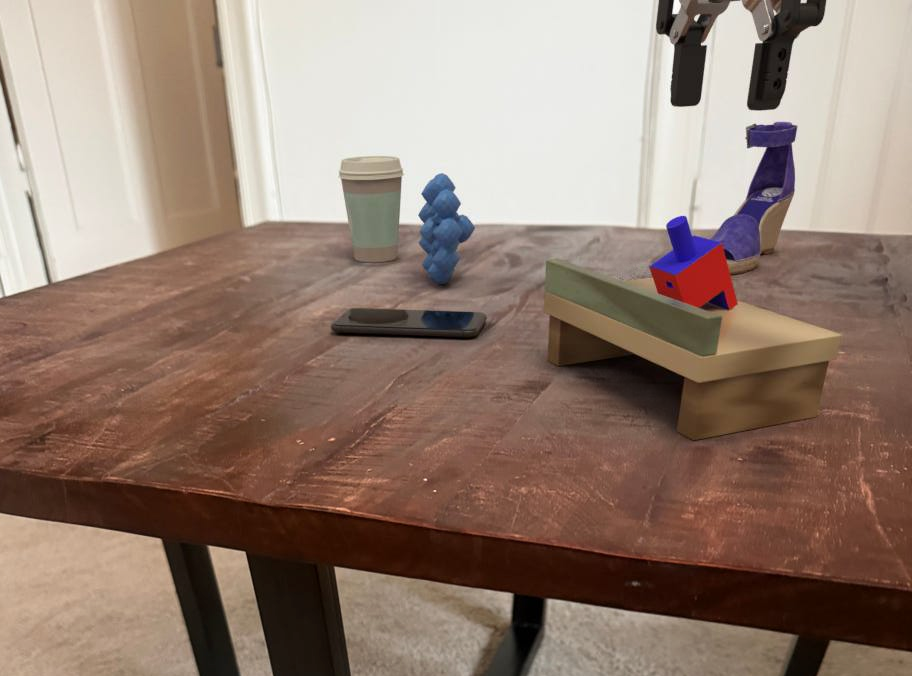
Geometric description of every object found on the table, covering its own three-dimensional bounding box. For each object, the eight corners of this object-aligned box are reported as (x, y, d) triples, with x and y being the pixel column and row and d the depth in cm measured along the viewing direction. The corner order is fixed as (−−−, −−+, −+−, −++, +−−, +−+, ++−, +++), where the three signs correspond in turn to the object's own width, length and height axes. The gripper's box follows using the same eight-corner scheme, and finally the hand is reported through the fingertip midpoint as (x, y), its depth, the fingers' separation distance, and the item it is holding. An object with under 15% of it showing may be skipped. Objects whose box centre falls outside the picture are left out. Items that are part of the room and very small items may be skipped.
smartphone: (488, 320, 90) (349, 315, 93) (488, 311, 90) (348, 306, 92) (476, 339, 84) (328, 334, 87) (476, 330, 84) (327, 325, 86)
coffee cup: (375, 250, 124) (370, 154, 117) (419, 256, 119) (416, 157, 113) (331, 260, 119) (323, 160, 112) (376, 267, 114) (370, 163, 107)
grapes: (488, 291, 101) (489, 175, 94) (431, 296, 100) (429, 178, 93) (463, 271, 110) (462, 164, 104) (411, 275, 109) (407, 167, 103)
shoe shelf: (654, 343, 82) (665, 246, 77) (823, 416, 65) (851, 297, 60) (541, 360, 78) (545, 259, 73) (689, 442, 61) (707, 317, 56)
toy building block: (668, 324, 71) (638, 233, 66) (710, 294, 70) (684, 200, 65) (693, 335, 68) (664, 240, 63) (738, 303, 68) (712, 206, 63)
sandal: (668, 269, 109) (685, 130, 100) (752, 246, 120) (774, 119, 111) (726, 278, 104) (749, 133, 95) (808, 253, 115) (835, 121, 106)
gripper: (905, -238, 48) (838, 108, 57) (736, -180, 59) (702, 102, 68) (796, -246, 45) (744, 115, 55) (641, -185, 56) (620, 107, 66)
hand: (721, 107), depth 61 cm, fingers open, 8 cm apart
